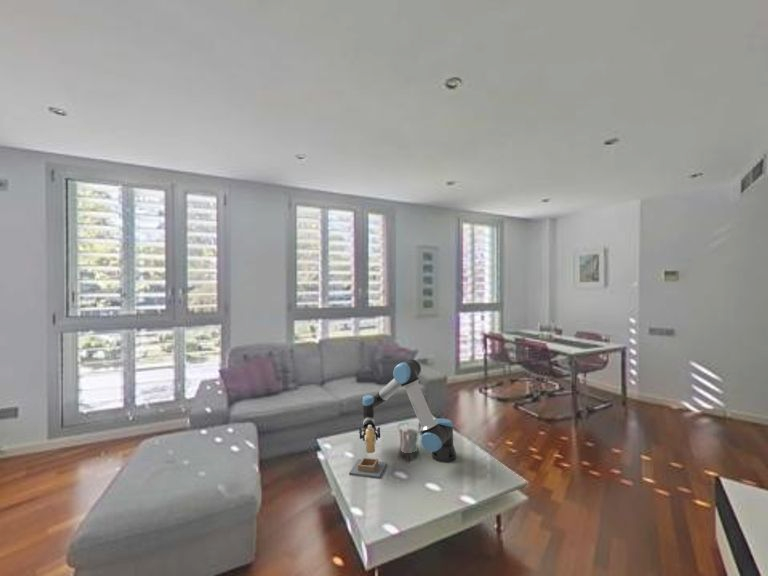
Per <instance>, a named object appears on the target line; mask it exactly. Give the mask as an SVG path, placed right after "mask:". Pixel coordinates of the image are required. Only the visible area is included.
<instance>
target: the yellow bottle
mask: <svg viewBox="0 0 768 576" xmlns="http://www.w3.org/2000/svg"><path fill="white" fill-rule="evenodd" d="M375 445H376V444H375V441H374V429H373V428H372V425H368V428H367V429H366V445H365V446H366V449H365V450H366V453H368V454H373V453H375V451H376V446H375Z"/></svg>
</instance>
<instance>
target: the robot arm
mask: <svg viewBox="0 0 768 576" xmlns="http://www.w3.org/2000/svg"><path fill="white" fill-rule="evenodd" d="M421 372H422V366H421V363H420V362H419V361H418V360H416V359H407V360H405V361H402V362H400V363H398V364H397V365H396V366H394V369H393V372H392V373H393V374H392V376H393V379H391V380H390V381H389V382H388V383H387V384H386V385H385V386H384V387H383V388H381V389H380V390H379V391H378V392H377V393H376V394H374V395H371V394H367V395H364V396H363V397H362V428H361V427H360V428H358V434H359V439H360V440H362V441H363V442H364V446H366V429H367V428H368V425H372V428H373V429H374V441H375V445H377V441H378V439H381V427H379V426H378V427H376V424H375V422H376V421H375V408H377V407H380V406H381V405H384V404H385V403H386V402H387V400H388V399H389V398H391V397H392V396H393V395H394V394H395V393H397V392H398V390H400V388H403V389H405V391H406V394H407V397H408V398H409V401H410V404H411V406H412V407H413V410H414V413H415V415H416V418H417V420H418V423H420V425H421V429H420V431H421V434H422V435H421V438H420V443H421V445H422V447H423V449H425V450H426V451H428V452H431V457H432V459H434V460H435V461H437V462H441V463H450V462H454V461H455V460H456V459H457V451H456V448H455V445H454V425H453V420H450V419H449V418H444V417H443V418H442V417H441V418H439V417H438V418H435V419H434V417H433V415H432V413H431V411H430V408H429V406H428V404H427V403H428V402H427V401H426V399H425V397H424V394H423V391H422V390H421V387H420V385H419V381H420V378H419V375H421Z"/></svg>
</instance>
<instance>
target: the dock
mask: <svg viewBox="0 0 768 576" xmlns="http://www.w3.org/2000/svg"><path fill="white" fill-rule="evenodd" d="M386 466H387V462H385V461H379V459H378V458H370V457H362V459H360V458H358V459H357V461H356V462H355V463H354V464H353V466H352V468H351V470H350V471H349V476H356V477H357V476H359V477H365V478H375V479H380V478H381V476H382V474H383V472H384V470H385V468H386Z"/></svg>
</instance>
